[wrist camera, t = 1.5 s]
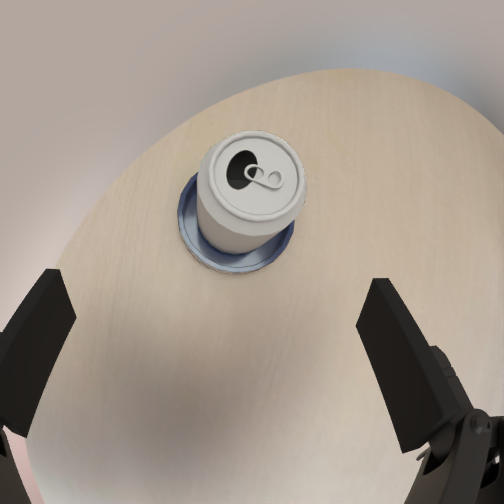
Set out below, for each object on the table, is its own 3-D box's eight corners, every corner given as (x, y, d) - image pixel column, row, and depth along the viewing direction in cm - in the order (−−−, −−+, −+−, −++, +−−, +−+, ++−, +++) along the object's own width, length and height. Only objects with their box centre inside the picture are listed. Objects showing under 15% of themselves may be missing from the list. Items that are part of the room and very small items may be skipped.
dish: (170, 264, 28) (167, 261, 26) (191, 160, 30) (191, 150, 28) (280, 281, 30) (287, 280, 28) (292, 180, 32) (299, 171, 29)
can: (213, 172, 30) (224, 105, 18) (281, 198, 31) (327, 147, 19) (185, 239, 28) (177, 203, 17) (257, 266, 29) (296, 249, 18)
